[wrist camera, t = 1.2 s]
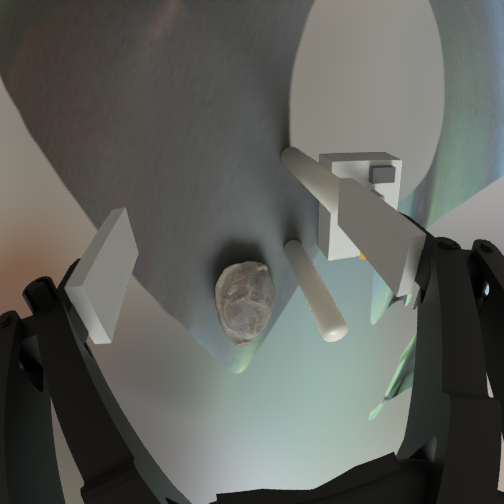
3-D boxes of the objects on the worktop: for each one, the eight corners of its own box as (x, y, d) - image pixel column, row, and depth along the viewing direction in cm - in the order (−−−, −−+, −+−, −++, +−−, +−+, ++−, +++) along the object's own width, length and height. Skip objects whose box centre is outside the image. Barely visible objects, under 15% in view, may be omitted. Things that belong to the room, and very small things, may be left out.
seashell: (242, 254, 44) (216, 352, 41) (296, 274, 50) (274, 358, 48) (212, 252, 51) (190, 335, 49) (263, 270, 58) (243, 344, 56)
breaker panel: (319, 154, 42) (341, 167, 35) (385, 152, 43) (413, 165, 36) (317, 245, 50) (334, 271, 43) (377, 236, 51) (399, 259, 44)
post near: (279, 147, 41) (334, 192, 24) (300, 146, 41) (367, 189, 24) (280, 168, 42) (333, 226, 25) (301, 166, 43) (364, 222, 26)
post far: (283, 241, 49) (324, 325, 32) (302, 238, 49) (349, 320, 32) (283, 257, 50) (321, 344, 33) (301, 254, 51) (346, 338, 34)
